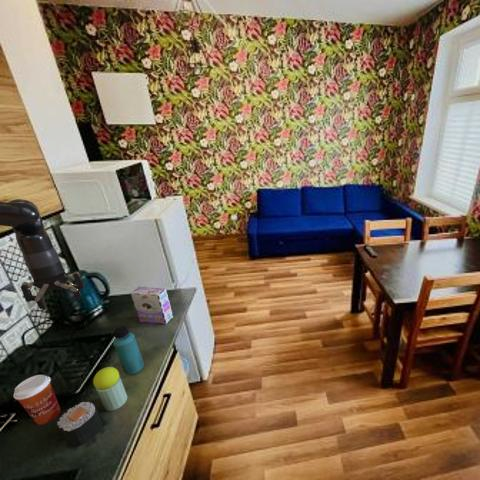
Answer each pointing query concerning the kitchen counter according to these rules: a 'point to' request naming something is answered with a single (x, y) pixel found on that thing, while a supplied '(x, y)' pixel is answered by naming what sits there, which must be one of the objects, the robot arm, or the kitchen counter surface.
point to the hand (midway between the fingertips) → (62, 304)
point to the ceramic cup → (113, 396)
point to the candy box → (152, 305)
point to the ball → (106, 378)
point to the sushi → (80, 423)
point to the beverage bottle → (127, 350)
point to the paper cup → (38, 398)
